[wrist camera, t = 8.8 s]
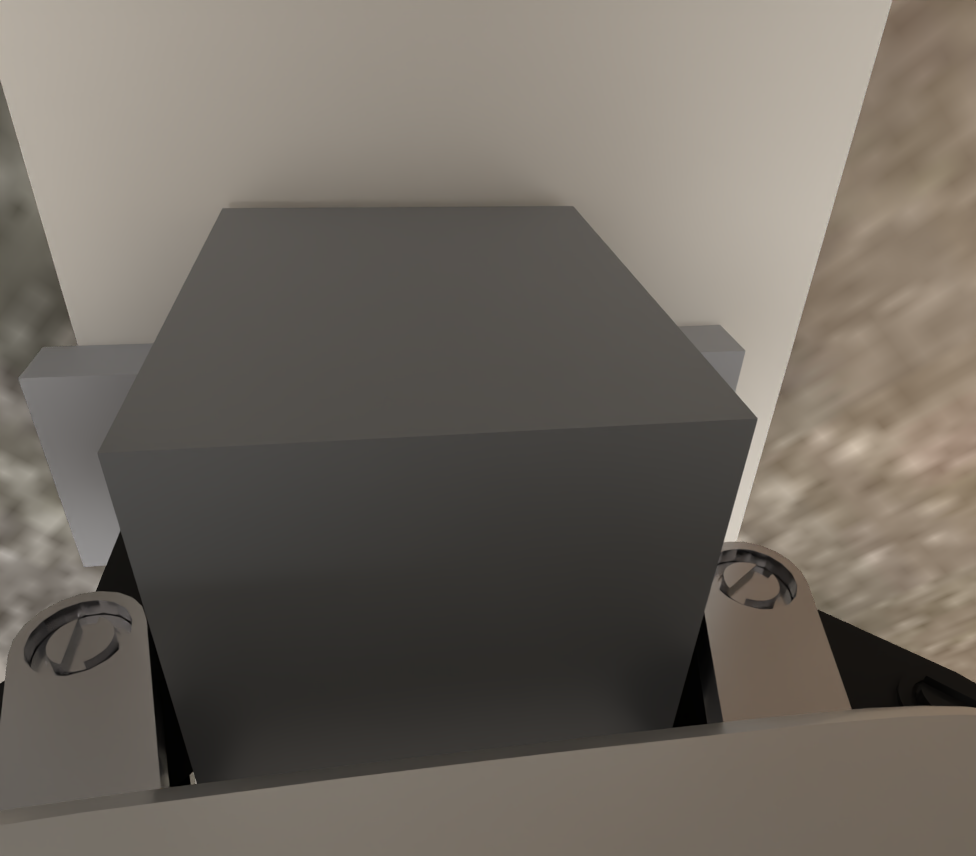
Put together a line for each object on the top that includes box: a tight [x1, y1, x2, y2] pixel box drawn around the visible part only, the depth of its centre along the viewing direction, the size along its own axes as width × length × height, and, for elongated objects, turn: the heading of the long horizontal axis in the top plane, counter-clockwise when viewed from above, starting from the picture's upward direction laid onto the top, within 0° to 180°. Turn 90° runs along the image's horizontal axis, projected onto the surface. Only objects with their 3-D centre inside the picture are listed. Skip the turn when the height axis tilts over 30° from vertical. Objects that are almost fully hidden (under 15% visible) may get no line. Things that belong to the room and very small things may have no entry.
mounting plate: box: [0, 0, 892, 567], centre depth 11 cm, size 12×22×2 cm, turn 178°
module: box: [97, 206, 758, 784], centre depth 10 cm, size 5×9×6 cm, turn 178°
